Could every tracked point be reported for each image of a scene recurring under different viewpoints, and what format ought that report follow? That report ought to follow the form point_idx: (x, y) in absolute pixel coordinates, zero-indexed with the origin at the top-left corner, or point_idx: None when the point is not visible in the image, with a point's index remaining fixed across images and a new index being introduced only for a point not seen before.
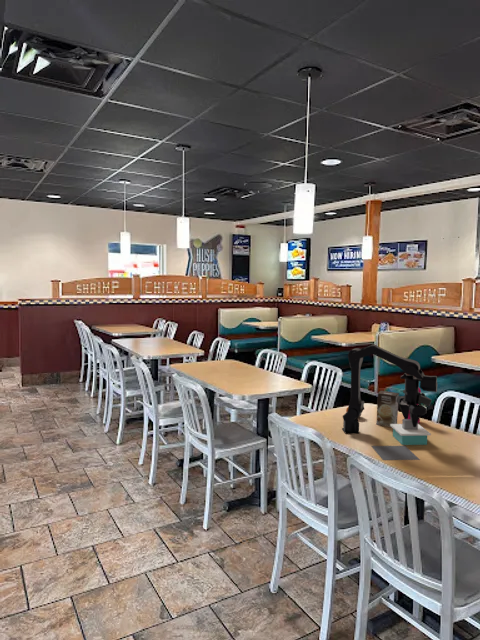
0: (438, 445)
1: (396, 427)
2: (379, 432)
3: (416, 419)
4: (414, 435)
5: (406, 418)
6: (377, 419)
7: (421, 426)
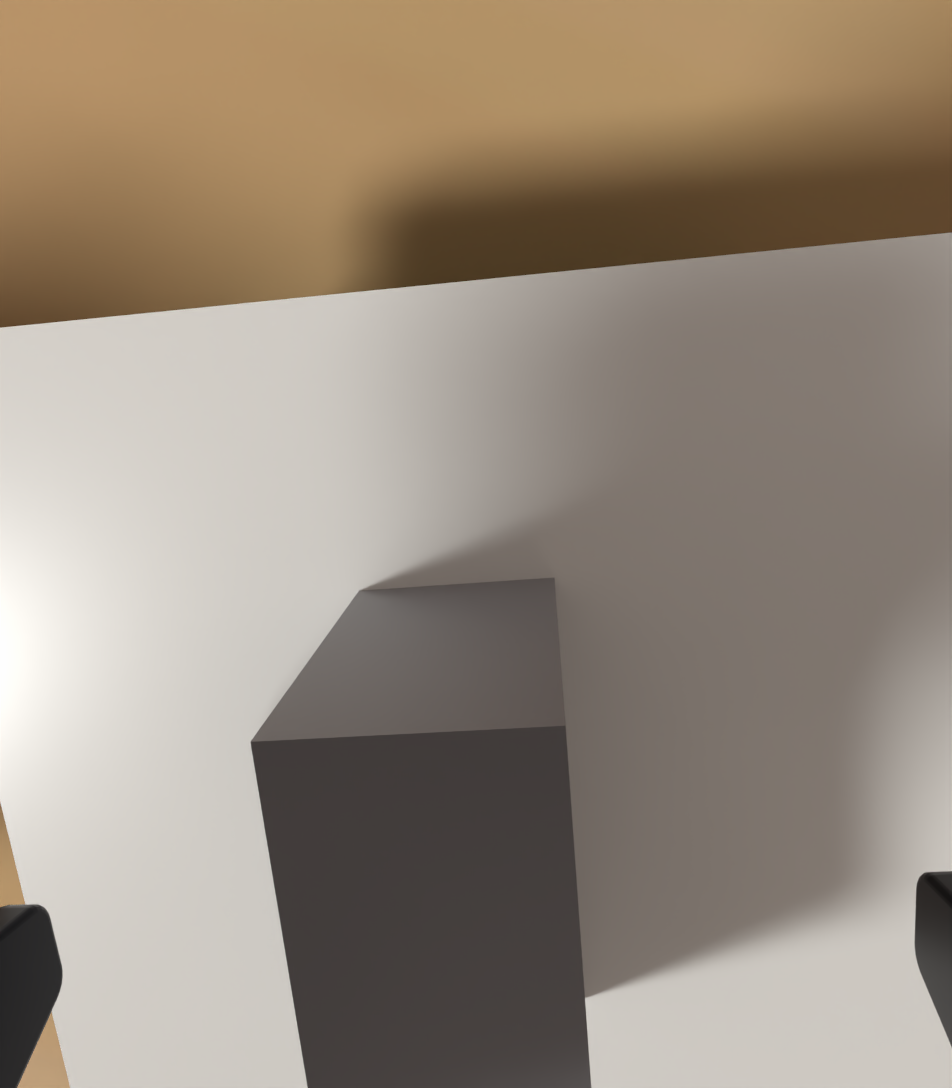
0: (760, 7)
1: None
2: (46, 1056)
3: None
4: None
5: (8, 1000)
6: None
7: (193, 316)
